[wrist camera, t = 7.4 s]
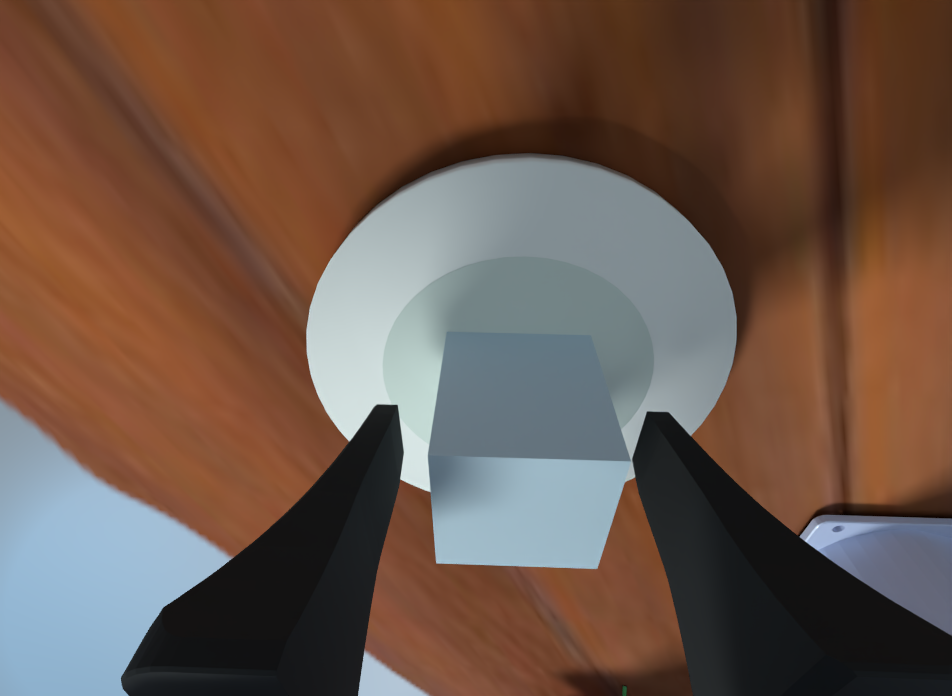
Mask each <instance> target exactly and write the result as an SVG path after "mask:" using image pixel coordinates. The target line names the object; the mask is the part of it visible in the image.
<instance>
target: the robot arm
mask: <svg viewBox="0 0 952 696" xmlns="http://www.w3.org/2000/svg"><path fill="white" fill-rule="evenodd" d="M403 456H404V449H403V441H402V433H401V426H400V418H399V410H398V405H386V404H377V405H376V406H374V407H373V409H372V410H371V412H370V414H369V415H368V416H367V418H366V419H365V421H364V422H363V424H362V425H361V427H360V428H359V429H358V431H357V432H356V434H355V435H354V436H353V438H352V439H351V440H350V442H349V443H348V444H347V445H346V447H345V448H344V449H343V451H342V452H341V453H340V454H339V456H338V457H337V458H336V459H335V461H334V462H333V463H332V464H331V465H330V467H329V468H328V469H327V470H326V471H325V472H324V474H323V475H322V476H321V477H320V478H319V479H318V480H317V482H316V483H315V484H314V485H313V486H312V487H311V488H310V489H309V490H308V491H307V492H306V493H305V495H304V496H303V497H302V498H301V499H300V500H299V501H298V502H297V503H296V504H295V505H294V506H293V507H292V508H291V509H290V510H289V511H288V512H286V513H285V514H284V515H283V516H282V517H281V518H280V519H279V520H278V521H277V522H276V523H274V524H273V525H272V526H271V527H270V528H269V529H268V530H267V531H266V532H264V533H263V534H262V535H261V536H260V537H259V538H258V539H256V540H255V541H254V542H253V543H252V544H250V545H249V546H248V547H247V548H245V549H244V550H243V551H241V552H240V553H239V554H238V555H236V556H235V557H234V558H233V559H231V560H230V561H229V562H227V563H226V564H225V565H224V566H222V567H221V568H220V569H219V570H217V571H216V572H214V573H213V574H212V575H210V576H209V577H208V578H206V579H205V580H203V581H202V582H200V583H199V584H197V585H196V586H195V587H193V588H192V589H190V590H189V591H187V592H186V593H184V594H183V595H181V596H180V597H179V598H177V599H176V600H174V601H173V602H171V603H170V604H168V605H167V606H165V607H164V608H163V609H162V611H161V612H160V614H159V615H158V617H157V618H156V620H155V621H154V623H153V624H152V625H151V627H150V628H149V630H148V632H147V633H146V635H145V637H144V639H143V640H142V642H141V644H140V646H139V647H138V649H137V651H136V653H135V654H134V656H133V658H132V660H131V661H130V663H129V665H128V667H127V668H126V670H125V672H124V674H123V675H122V677H121V682H122V687H123V689H124V691H125V692H126V693H127V694H128V695H129V696H358V691H359V682H360V676H361V669H362V662H363V655H364V648H365V642H366V635H367V629H368V622H369V616H370V609H371V603H372V598H373V592H374V586H375V580H376V574H377V569H378V565H379V560H380V556H381V552H382V549H383V545H384V541H385V537H386V534H387V530H388V526H389V522H390V519H391V515H392V511H393V507H394V503H395V500H396V496H397V492H398V488H399V483H400V477H401V470H402V463H403ZM632 462H633V467H634V472H635V478H636V482H637V487H638V491H639V495H640V498H641V501H642V504H643V507H644V510H645V513H646V516H647V519H648V522H649V525H650V527H651V530H652V533H653V536H654V539H655V542H656V545H657V548H658V551H659V554H660V556H661V559H662V562H663V565H664V568H665V572H666V575H667V578H668V582H669V585H670V589H671V594H672V598H673V602H674V606H675V611H676V615H677V619H678V624H679V628H680V633H681V637H682V642H683V647H684V651H685V656H686V661H687V666H688V672H689V677H690V682H691V687H692V692H693V696H952V519H951V518H918V517H886V516H854V515H821V516H817V517H815V518H814V519H813V520H812V521H811V522H810V524H809V525H808V526H807V527H806V529H805V530H804V531H803V533H802V534H801V535H800V537H799V536H797V535H796V534H795V533H794V532H792V531H791V530H790V529H789V528H787V527H786V526H785V525H784V524H783V523H781V522H780V521H779V520H778V519H776V518H775V517H774V516H773V515H772V514H770V513H769V512H768V511H767V510H766V509H764V508H763V507H762V506H761V505H760V504H759V503H758V502H756V501H755V500H754V499H753V498H752V497H751V496H750V495H749V494H748V493H747V492H746V491H745V490H743V489H742V488H741V487H740V486H739V485H738V484H737V483H736V482H735V481H734V480H733V479H732V478H731V477H730V476H729V475H728V474H727V473H726V472H725V471H724V470H723V469H722V468H721V467H720V466H719V465H718V464H717V463H716V462H715V461H714V460H713V459H712V458H711V457H710V456H709V455H708V454H707V453H706V452H705V451H704V450H703V449H702V448H701V447H700V446H699V444H698V443H697V442H696V441H695V440H694V439H693V438H692V437H691V436H690V435H689V434H688V433H687V431H686V430H685V429H684V428H683V427H682V426H681V425H680V424H679V423H678V422H677V421H676V419H675V418H674V417H673V416H672V415H671V414H670V413H669V412H652V411H647V413H646V416H645V419H644V422H643V426H642V429H641V432H640V435H639V438H638V442H637V445H636V448H635V451H634V454H633V457H632Z"/></svg>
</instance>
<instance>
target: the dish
mask: <svg viewBox="0 0 952 696" xmlns="http://www.w3.org/2000/svg"><path fill="white" fill-rule="evenodd" d="M447 332H479V333H520V334H561V335H591V337H592V340H593V343H594V347H595V350H596V353H597V356H598V359H599V362H600V365H601V368H602V372H603V375H604V378H605V381H606V384H607V387H608V390H609V394H610V397H611V400H612V403H613V406H614V409H615V412H616V415H617V419H618V422H619V425H620V428H621V431H622V434H623V437H624V441H625V444H626V447H627V450H628V453H629V456H630V459H631V464H630V467H629V470H628V473H627V476H626V479H625V482H626V481H628V480H631V479H633V478H634V477H635V472H634V467H633V462H632V457H633V454H634V451H635V448H636V445H637V442H638V438H639V435H640V432H641V429H642V426H643V422H644V419H645V416H646V413H647V411H652V412H669V413H670V414H671V415H672V416H673V417H674V418H675V419H676V421H677V422H678V423H679V424H680V425H681V426H682V427H683V428H684V429H685V430H686V431H687V433H688V434H689V435H690V436H691V435H692V434H693V433H694V432H695V431H696V430H697V428H698V427H699V426H700V425H701V424H702V423H703V421H704V420H705V418H706V417H707V416H708V414H709V413H710V411H711V410H712V409H713V407H714V406H715V404H716V402H717V400H718V398H719V396H720V394H721V392H722V390H723V388H724V387H725V384H726V381H727V378H728V376H729V373H730V370H731V367H732V364H733V358H734V353H735V347H736V341H737V316H736V311H735V305H734V299H733V294H732V290H731V288H730V285H729V282H728V280H727V277H726V274H725V272H724V269H723V267H722V265H721V264H720V262H719V260H718V259H717V257H716V255H715V254H714V252H713V250H712V249H711V247H710V245H709V244H708V243H707V241H706V240H705V239H704V238H703V237H702V236H701V235H700V233H699V232H698V231H697V230H696V229H695V228H694V227H693V225H692V224H691V223H690V222H689V221H688V220H687V219H686V218H685V217H684V216H683V215H682V214H681V213H680V212H679V211H678V210H677V209H676V208H674V207H673V206H672V205H671V204H669V203H668V202H667V201H666V200H665V199H663V198H662V197H661V196H660V195H659V194H657V193H656V192H655V191H653V190H652V189H650V188H648V187H646V186H645V185H643V184H641V183H640V182H638V181H636V180H634V179H633V178H631V177H629V176H628V175H625V174H623V173H620V172H618V171H615V170H612V169H610V168H607V167H605V166H602V165H600V164H597V163H593V162H589V161H584V160H580V159H576V158H571V157H567V156H560V155H548V154H536V153H520V154H502V155H492V156H487V157H482V158H477V159H472V160H467V161H462V162H459V163H456V164H453V165H450V166H447V167H444V168H441V169H439V170H436V171H433V172H430V173H428V174H426V175H424V176H422V177H420V178H418V179H416V180H414V181H413V182H411V183H409V184H407V185H405V186H403V187H401V188H400V189H398V190H397V191H396V192H394V193H393V194H391V195H390V196H389V197H387V198H386V199H384V200H383V201H381V202H380V203H379V204H377V205H376V206H375V207H374V208H373V209H372V210H371V211H370V212H369V213H368V214H367V215H366V216H365V217H364V218H363V219H362V220H361V221H360V222H359V223H358V224H357V225H356V226H355V227H354V228H353V230H352V231H351V232H350V234H349V235H348V236H347V238H346V239H345V240H344V242H343V243H342V244H341V246H340V247H339V248H338V250H337V251H336V253H335V254H334V256H333V257H332V258H331V260H330V262H329V263H328V265H327V267H326V269H325V271H324V273H323V275H322V277H321V279H320V281H319V283H318V285H317V288H316V291H315V294H314V297H313V300H312V303H311V306H310V311H309V318H308V324H307V357H308V362H309V367H310V373H311V377H312V380H313V383H314V385H315V388H316V391H317V394H318V396H319V398H320V400H321V402H322V404H323V406H324V408H325V410H326V412H327V414H328V415H329V416H330V418H331V419H332V421H333V422H334V423H335V425H336V426H337V428H338V429H339V431H340V432H341V433H342V434H343V435H344V436H345V437H346V438H347V439H348V440H349V441H350V440H351V439H352V438H353V436H354V435H355V434H356V432H357V431H358V429H359V428H360V427H361V425H362V424H363V422H364V421H365V419H366V418H367V416H368V415H369V414H370V412H371V410H372V409H373V407H374V406H376V405H377V404H386V405H398V410H399V418H400V426H401V433H402V441H403V449H404V456H403V463H402V470H401V477H400V479H401V480H403V481H405V482H407V483H409V484H412V485H414V486H416V487H419V488H421V489H423V490H426V491H429V492H431V490H430V478H429V465H428V450H429V444H430V437H431V431H432V424H433V418H434V411H435V405H436V398H437V391H438V385H439V378H440V372H441V365H442V359H443V352H444V346H445V339H446V333H447Z"/></svg>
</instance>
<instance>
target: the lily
mask: <svg viewBox="0 0 952 696" xmlns="http://www.w3.org/2000/svg"><path fill="white" fill-rule="evenodd" d="M626 691H627V686H623V689H622V696H626Z"/></svg>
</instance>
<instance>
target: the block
mask: <svg viewBox="0 0 952 696" xmlns="http://www.w3.org/2000/svg"><path fill="white" fill-rule="evenodd" d="M630 464H631V459H630V456H629V453H628V450H627V447H626V444H625V441H624V437H623V434H622V431H621V428H620V425H619V422H618V419H617V415H616V412H615V409H614V406H613V403H612V400H611V397H610V394H609V390H608V387H607V384H606V381H605V378H604V375H603V372H602V368H601V365H600V362H599V359H598V356H597V353H596V350H595V347H594V343H593V340H592V337H591V335H561V334H520V333H479V332H447V333H446V339H445V346H444V352H443V359H442V365H441V372H440V378H439V385H438V391H437V398H436V405H435V411H434V418H433V424H432V431H431V437H430V444H429V450H428V465H429V478H430V490H431V503H432V515H433V528H434V540H435V553H436V563H445V564H474V565H502V566H530V567H559V568H587V569H597V568H598V565H599V562H600V558H601V555H602V552H603V549H604V546H605V543H606V539H607V536H608V533H609V530H610V527H611V524H612V521H613V517H614V514H615V511H616V508H617V505H618V502H619V498H620V495H621V492H622V489H623V486H624V483H625V479H626V476H627V473H628V470H629V467H630Z"/></svg>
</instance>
